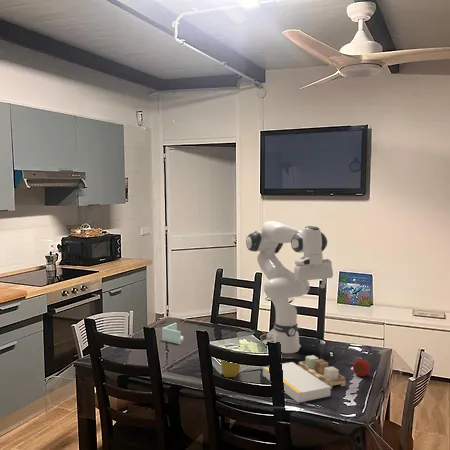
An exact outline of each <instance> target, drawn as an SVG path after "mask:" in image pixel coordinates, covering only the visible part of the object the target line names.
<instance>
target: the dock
mask: <svg viewBox="0 0 450 450" xmlns="http://www.w3.org/2000/svg"><path fill="white" fill-rule="evenodd" d="M281 364H282V370H283V383H284V391H285V392H284V393H285V395H287V396H288V397H289V398H291V399H293V400H294V401H295V402H297V403H299V404H300V403H303V402H304V403H305V402H308V401H313V400H317V399H323V398H327V397H331V391H332V388H331V387H330V386H329V385H327V384H325V383H324V382H322V381H321V380H319V379H318V378H316V377H315V376H313V375H312V374H310V373H309V372H307V371H306V370H304V369H302V368H301V367H299V364H296V363H295V362H293V361H290V362H285V363H281ZM262 376H263V377H264V378H265V377H266V378H265V379H266V380H268V381H269V382H271V381H270V373H269V368H268V367H264V366H262Z"/></svg>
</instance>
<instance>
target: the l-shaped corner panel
mask: <svg viewBox="0 0 450 450" xmlns="http://www.w3.org/2000/svg"><path fill="white" fill-rule="evenodd" d="M161 330H162V331H161V333H162V335H161V339H162V341H164V342H169V343H172V344H176V345H181V342H183V341H184V336H183V335H181V331H179V330H178V323H177V322H174V323H172V324H169V325H167V326H164V327H162V328H161Z"/></svg>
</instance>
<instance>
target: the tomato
mask: <svg viewBox="0 0 450 450" xmlns="http://www.w3.org/2000/svg"><path fill="white" fill-rule="evenodd" d="M370 370H371V365H370V364H369V362H368V361H367V360H366V359H363V358H359V359H355V361H354V362H353V365H352V371H353V372H354V373H355V375H357V376H358V377H363V378H364V377H366V376H367V375H368V374H369V373H370Z"/></svg>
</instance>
